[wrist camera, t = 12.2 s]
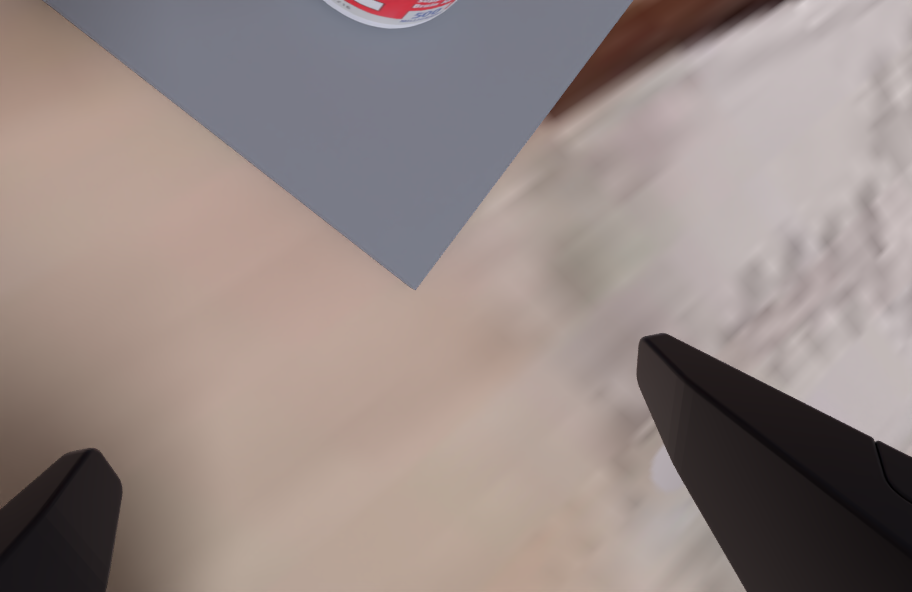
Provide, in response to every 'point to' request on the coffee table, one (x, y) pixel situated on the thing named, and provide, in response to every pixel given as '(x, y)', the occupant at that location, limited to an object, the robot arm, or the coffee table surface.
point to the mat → (362, 99)
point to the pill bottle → (391, 11)
